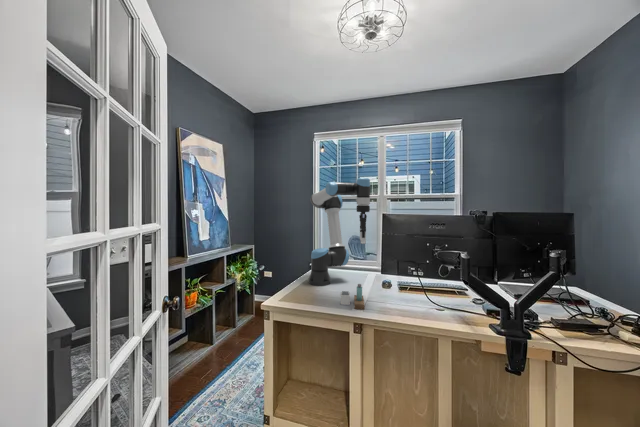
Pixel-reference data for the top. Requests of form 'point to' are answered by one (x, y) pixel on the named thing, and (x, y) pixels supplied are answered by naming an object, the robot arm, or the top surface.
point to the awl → (359, 292)
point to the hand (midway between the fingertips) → (362, 241)
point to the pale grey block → (345, 298)
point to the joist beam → (358, 303)
